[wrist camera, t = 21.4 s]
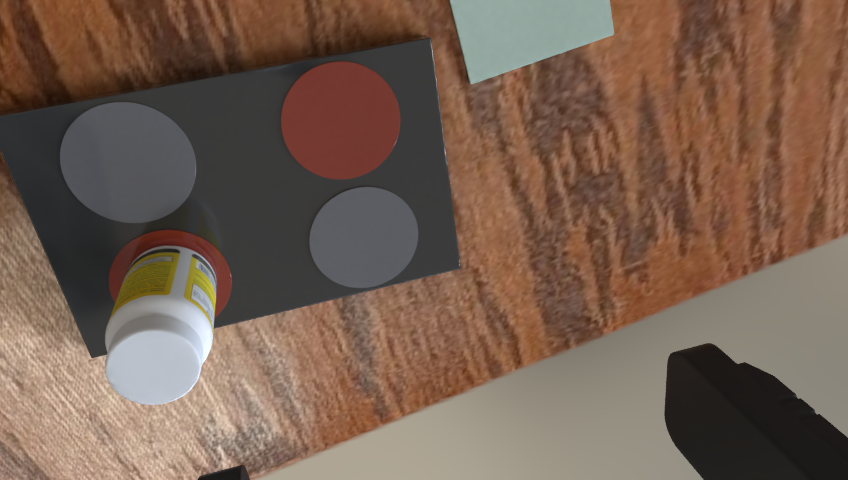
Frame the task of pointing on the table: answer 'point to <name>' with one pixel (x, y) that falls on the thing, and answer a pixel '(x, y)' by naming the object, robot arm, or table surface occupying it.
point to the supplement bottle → (161, 325)
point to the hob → (245, 181)
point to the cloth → (524, 31)
